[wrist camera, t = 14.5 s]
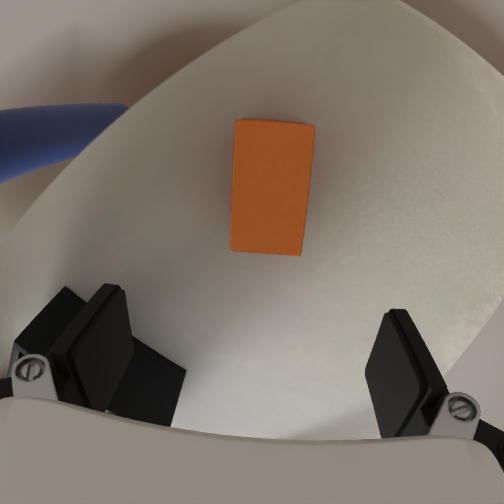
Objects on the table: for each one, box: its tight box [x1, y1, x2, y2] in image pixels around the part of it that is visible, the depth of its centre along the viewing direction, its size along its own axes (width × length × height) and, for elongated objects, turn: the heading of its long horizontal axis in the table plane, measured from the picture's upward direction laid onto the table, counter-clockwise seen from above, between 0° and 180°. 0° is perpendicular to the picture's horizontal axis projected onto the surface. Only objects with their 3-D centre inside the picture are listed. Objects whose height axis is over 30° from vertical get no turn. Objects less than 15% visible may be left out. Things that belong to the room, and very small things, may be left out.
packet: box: [230, 118, 315, 256], centre depth 24 cm, size 5×9×7 cm, turn 177°
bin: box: [7, 286, 187, 427], centre depth 33 cm, size 18×13×11 cm
